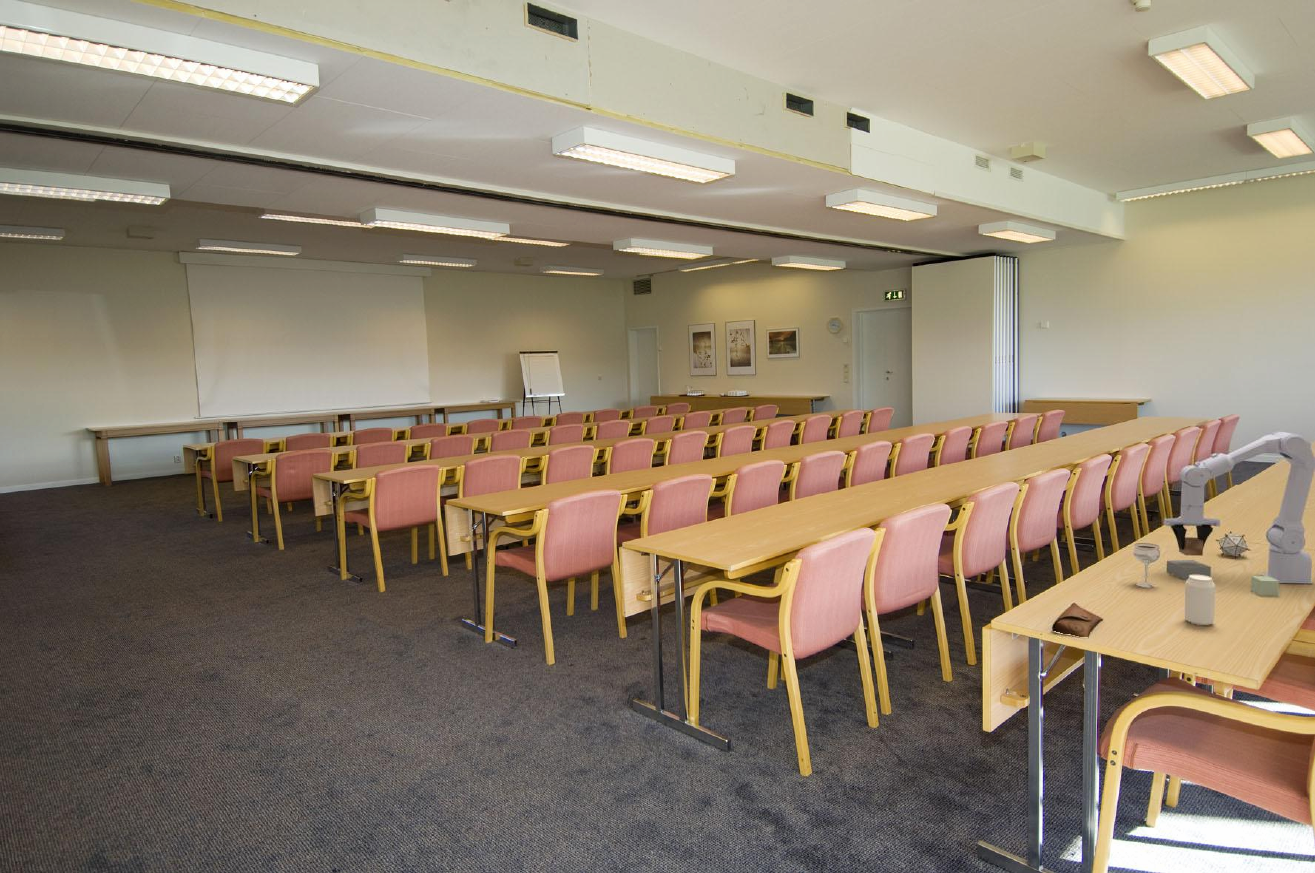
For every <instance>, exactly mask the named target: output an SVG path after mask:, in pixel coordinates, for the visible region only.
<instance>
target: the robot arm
mask: <svg viewBox="0 0 1315 873" xmlns="http://www.w3.org/2000/svg"><path fill="white" fill-rule="evenodd" d="M1262 454H1276V455H1278V454H1279V455H1280V456H1282V458H1284V459H1285V461H1286V462H1288V463H1289V464H1290V469H1289V474H1288V478H1287V481H1286V485H1285V489H1284V491H1283V492H1284V494H1283V496H1282V502H1281V504H1280V508H1279V513H1278V516H1277V517H1276V518H1274V519H1273V520H1272V523H1271V526H1270V527H1269V528H1268V529H1267V530H1266V533H1265V538H1266V540H1267V542H1268V543H1269V547H1268V564H1267V565H1268V566H1267V567H1268V568H1267V573H1261V574H1260V576H1270V577H1272V578H1274V579H1276V580H1278V581H1279V584H1313V581H1312V568H1313V566H1312V565H1313V564H1312V563H1313V561H1312V560H1313V559H1312V556H1311V555H1310V553H1309V552H1308V551H1306V550H1303V549H1304V548H1305V545H1306V538H1305V527H1304V525H1303V522H1302V520H1303V517H1304V513H1305V509H1306V504H1307V500H1308V496H1309V494H1310V490H1311V486H1312V481H1313V478H1314V474H1315V455H1314V452H1313V450H1312V443H1311V442H1310V441H1309V440H1307V438H1306V437H1304V436H1303V435H1301V434H1297V433H1291V432H1287V431H1283V430H1278V431H1274V432H1272V433H1271V434H1266V435H1263V436H1262V437H1261V438H1259V439H1257V440H1254V441H1253V442H1250V443H1248V444H1247V445H1246V444H1245V445H1244V446H1242V447H1240V448H1238V449H1236V450H1233V451H1232V452H1230V453H1228V454H1225V453H1221V452H1220V453H1216V452H1215V453H1212V454H1210V457H1209V458H1206V459H1204V460H1202V461H1196V462H1194V465H1193V464H1191V465H1186V466H1184V467H1182V469H1181V470H1180V472H1179V473H1178V478H1179V480H1180V481H1181V491H1180V492H1181V494H1180V517H1172V518H1163V525H1164V526H1166V527H1170V528H1171V530H1172V531H1173V534H1174V536H1175V539H1176V542H1177V546H1178V549H1179V548H1180V549H1182V550H1184V548H1185V537H1186V534H1187V531H1188V529H1187V528H1185V526H1187V527H1189V526H1191V527H1192V526H1193V527H1195V528H1196V538H1198V539H1200V540H1202V541H1203V549H1204V548H1205V544H1206V543H1207V540H1208V538H1209V537H1210V535H1211V534H1212V532H1213V531H1214V528H1213V527H1221V520H1220V519H1218V518H1204V515H1205V514H1204V510H1205V509H1204V508H1205V485H1206V484H1207V483H1208V482H1209V480H1212V479H1214V478H1217V477H1219V476H1221V475H1223V474H1226V473H1228V472H1230V471H1232V470H1233V468H1234V466H1235V465H1236V464H1238V463H1241V462H1244V461H1247V460H1250V459H1252V458H1254V457H1257V456H1260V455H1262Z"/></svg>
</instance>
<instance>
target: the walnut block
mask: <svg viewBox="0 0 1315 873" xmlns="http://www.w3.org/2000/svg"><path fill="white" fill-rule="evenodd" d="M1203 551H1204V548H1203V541H1202V540H1200V539H1198V538H1197V536H1196V537H1193V536H1192V537H1191V536H1190V537H1188V536H1187V537H1186V536H1185V548H1184V550H1182V549H1180V548H1179V547H1178V552H1179V553H1181V554H1183V555H1184V556H1193V557H1195V556H1197V557H1198V556H1199V557H1200V556H1203V554H1204V552H1203Z"/></svg>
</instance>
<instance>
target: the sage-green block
mask: <svg viewBox="0 0 1315 873" xmlns="http://www.w3.org/2000/svg"><path fill="white" fill-rule="evenodd" d="M1250 583H1251V585H1250V587H1251V588H1250V592H1252V593H1253V594H1256V595H1257V594H1258V595H1257V596H1260V597H1279V593H1280V583H1279V581H1278V580H1276V579H1274V578H1272V577H1270V576H1261V575H1251V582H1250Z"/></svg>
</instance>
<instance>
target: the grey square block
mask: <svg viewBox="0 0 1315 873" xmlns="http://www.w3.org/2000/svg"><path fill="white" fill-rule="evenodd" d="M1211 571H1212V567H1211V566H1209V565H1207V564H1205V563H1202V562H1200V561H1197V560H1194V559H1184V560H1183V559H1180V560H1179V559H1177V560H1175V559H1174V560H1166V573H1167V574H1169V573H1170V575H1172V574H1173V575H1172V576H1173V577H1176V578H1178V577H1179V578H1178V579H1181V580H1184V581H1185V580H1186V581H1187V580H1188V578H1189V575H1205V576H1209V577H1211V574H1212V572H1211ZM1211 578H1212V577H1211Z"/></svg>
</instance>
